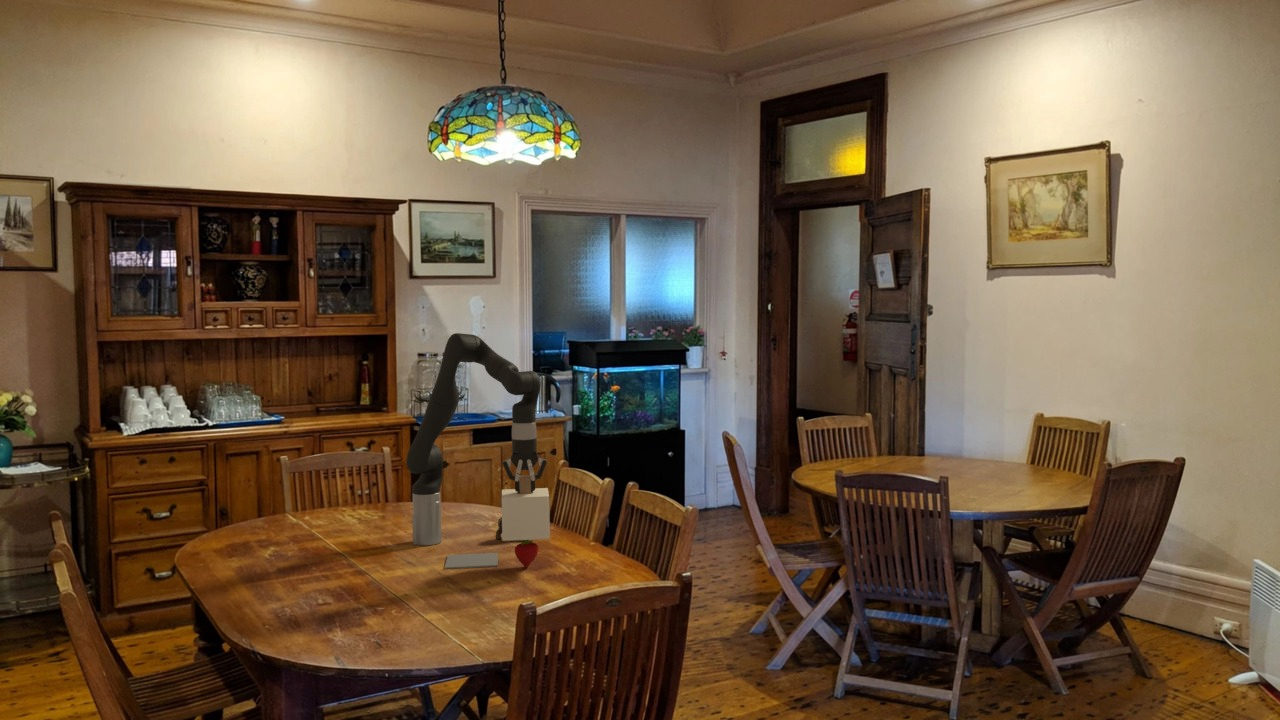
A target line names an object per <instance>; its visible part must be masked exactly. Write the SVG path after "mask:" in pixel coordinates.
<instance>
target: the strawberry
mask: <svg viewBox="0 0 1280 720" xmlns="http://www.w3.org/2000/svg"><path fill="white" fill-rule="evenodd" d="M516 543H517V544H516V546H515V548H514V554H515V557H516V558H517V560H518V561H519V562H520V563H521V564H522V566H523V567H524V568H528V567H529V566H530V565H531V564H532V562H533V561H534V560H535V559H536V558H537V556H538V553H539V550H540V549H539V545H538V544H537V543H535V539H534V540H520V541H516Z"/></svg>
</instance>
